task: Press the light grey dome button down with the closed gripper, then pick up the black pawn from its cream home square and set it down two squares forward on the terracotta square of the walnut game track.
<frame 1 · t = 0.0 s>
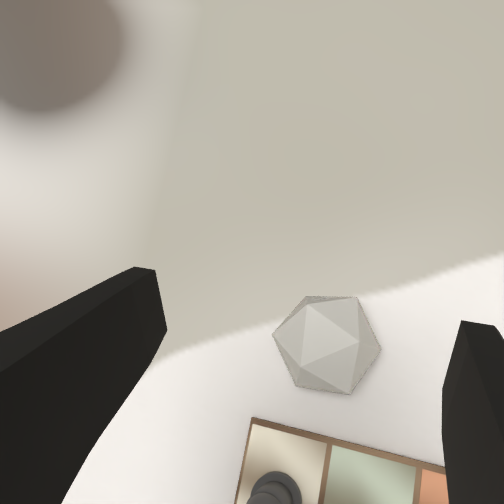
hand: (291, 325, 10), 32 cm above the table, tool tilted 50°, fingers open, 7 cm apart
pawn: (277, 499, 37), point 1 cm above the table, touching game track
die: (329, 346, 41), on the table
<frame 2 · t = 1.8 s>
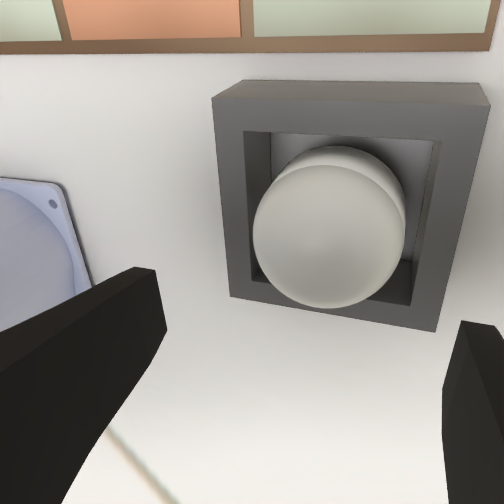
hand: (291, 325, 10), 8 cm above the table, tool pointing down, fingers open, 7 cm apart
dome: (326, 234, 14), point 4 cm above the table, slide at 0.0 cm
dome housing: (343, 188, 17), on the table
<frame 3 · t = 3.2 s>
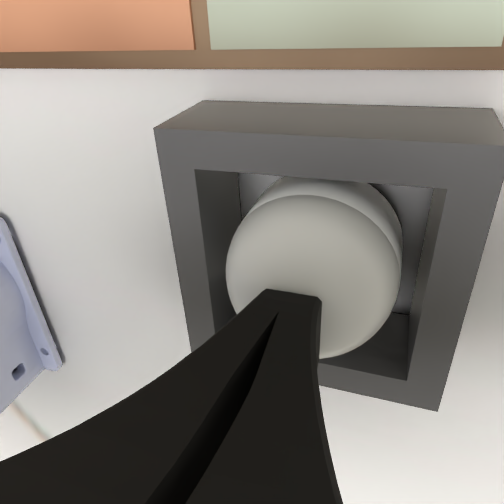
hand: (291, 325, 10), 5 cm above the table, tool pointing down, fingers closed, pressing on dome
dome: (310, 271, 12), point 3 cm above the table, slide at 1.3 cm, touching gripper
dome housing: (326, 229, 14), on the table
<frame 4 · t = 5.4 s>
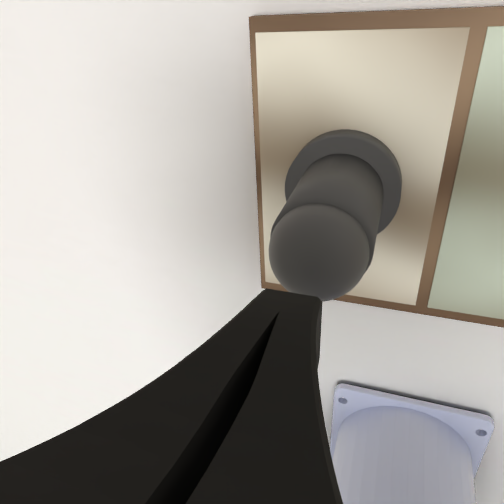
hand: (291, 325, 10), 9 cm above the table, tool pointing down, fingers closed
pawn: (344, 183, 17), point 1 cm above the table, touching game track
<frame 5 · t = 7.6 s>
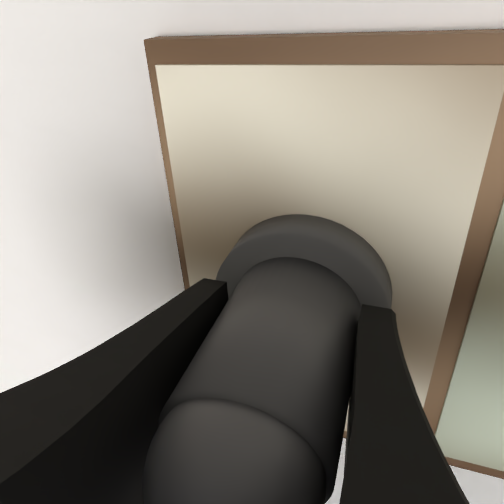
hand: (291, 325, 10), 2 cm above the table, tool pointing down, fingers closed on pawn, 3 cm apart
pawn: (305, 288, 11), point 1 cm above the table, touching game track, gripper
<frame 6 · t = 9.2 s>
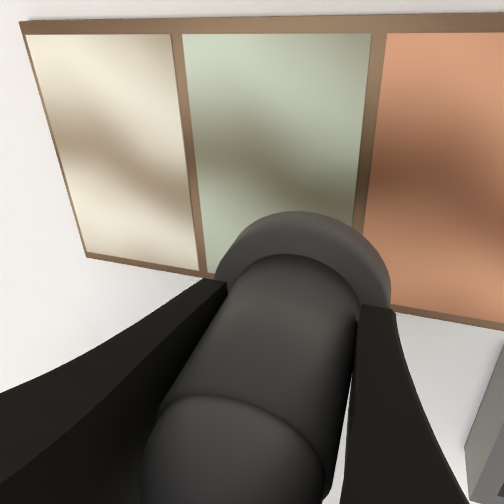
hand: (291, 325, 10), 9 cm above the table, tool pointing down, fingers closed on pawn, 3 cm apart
pawn: (304, 285, 11), point 8 cm above the table, touching gripper
game track: (363, 181, 17), on the table
when the fingers open (4 cm above the table, at t = 11.0 s): pawn drops 1 cm, resting on game track.
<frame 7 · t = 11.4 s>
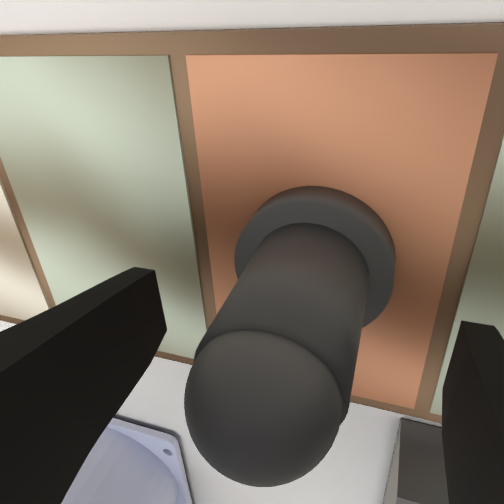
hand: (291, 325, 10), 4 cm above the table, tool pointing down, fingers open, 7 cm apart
pawn: (316, 255, 12), point 1 cm above the table, touching game track
game track: (209, 232, 14), on the table
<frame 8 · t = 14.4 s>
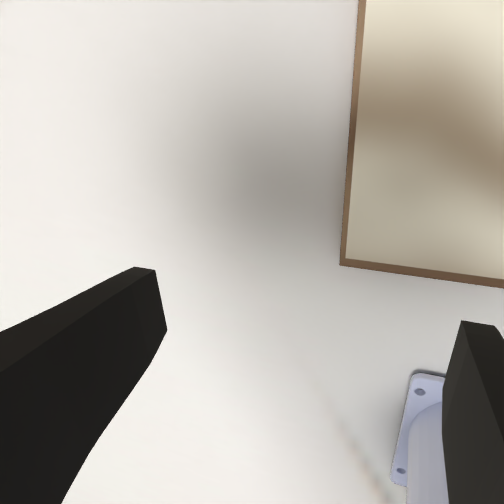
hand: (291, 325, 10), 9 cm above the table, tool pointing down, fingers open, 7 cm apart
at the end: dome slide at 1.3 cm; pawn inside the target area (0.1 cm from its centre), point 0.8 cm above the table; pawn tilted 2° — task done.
